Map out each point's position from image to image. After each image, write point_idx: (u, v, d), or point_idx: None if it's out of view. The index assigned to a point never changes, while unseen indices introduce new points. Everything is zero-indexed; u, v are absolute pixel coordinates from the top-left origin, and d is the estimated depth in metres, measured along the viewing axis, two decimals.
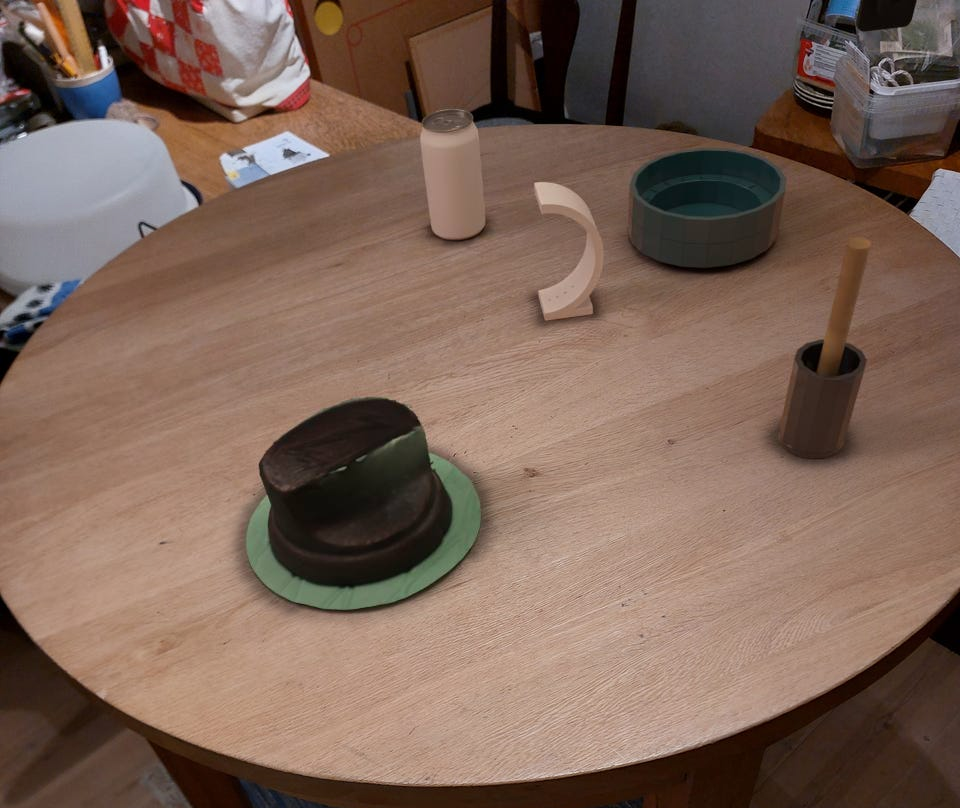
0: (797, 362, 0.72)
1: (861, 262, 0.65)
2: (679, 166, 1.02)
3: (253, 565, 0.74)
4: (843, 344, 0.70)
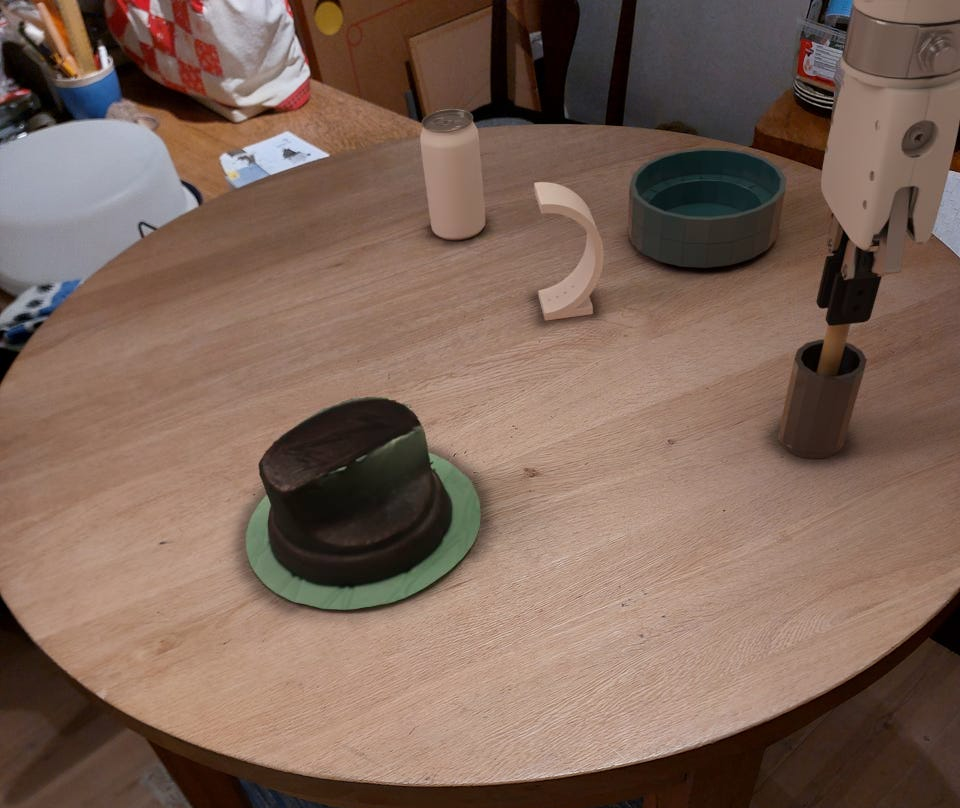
0: (797, 362, 0.72)
1: None
2: (679, 166, 1.02)
3: (252, 565, 0.74)
4: (843, 344, 0.70)
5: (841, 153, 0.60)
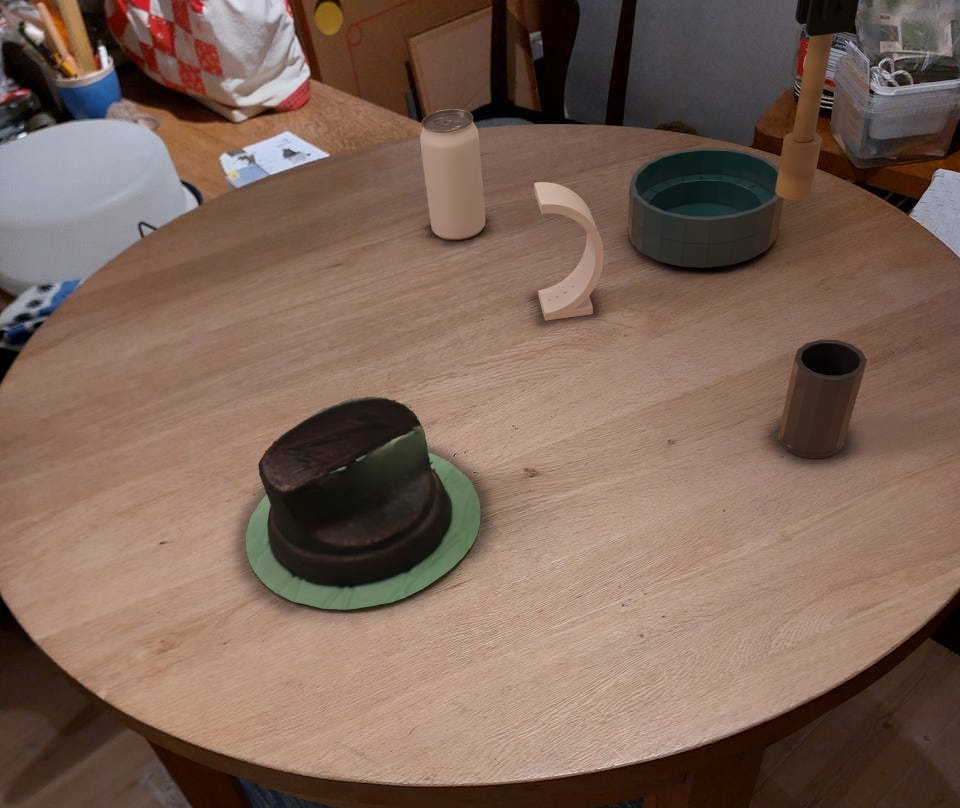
0: (797, 362, 0.72)
1: None
2: (679, 166, 1.02)
3: (252, 565, 0.74)
4: (825, 66, 0.65)
5: None
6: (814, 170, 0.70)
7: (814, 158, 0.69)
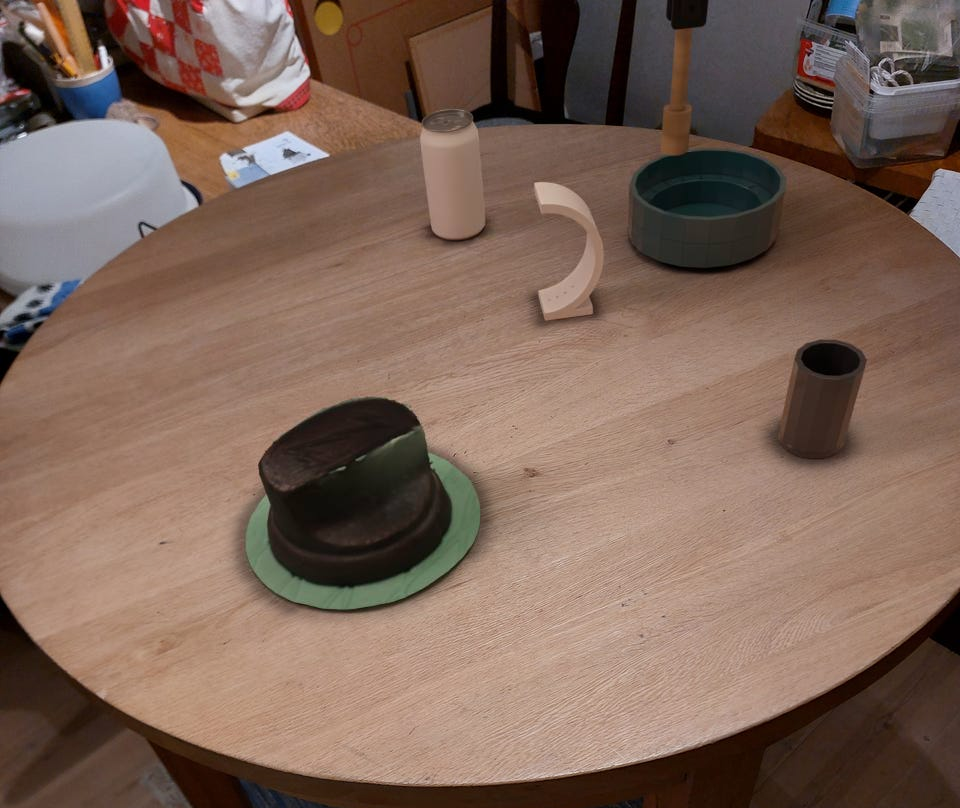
0: (797, 362, 0.72)
1: None
2: (679, 166, 1.02)
3: (252, 565, 0.74)
4: (688, 52, 0.86)
5: None
6: (687, 133, 0.91)
7: (686, 123, 0.90)
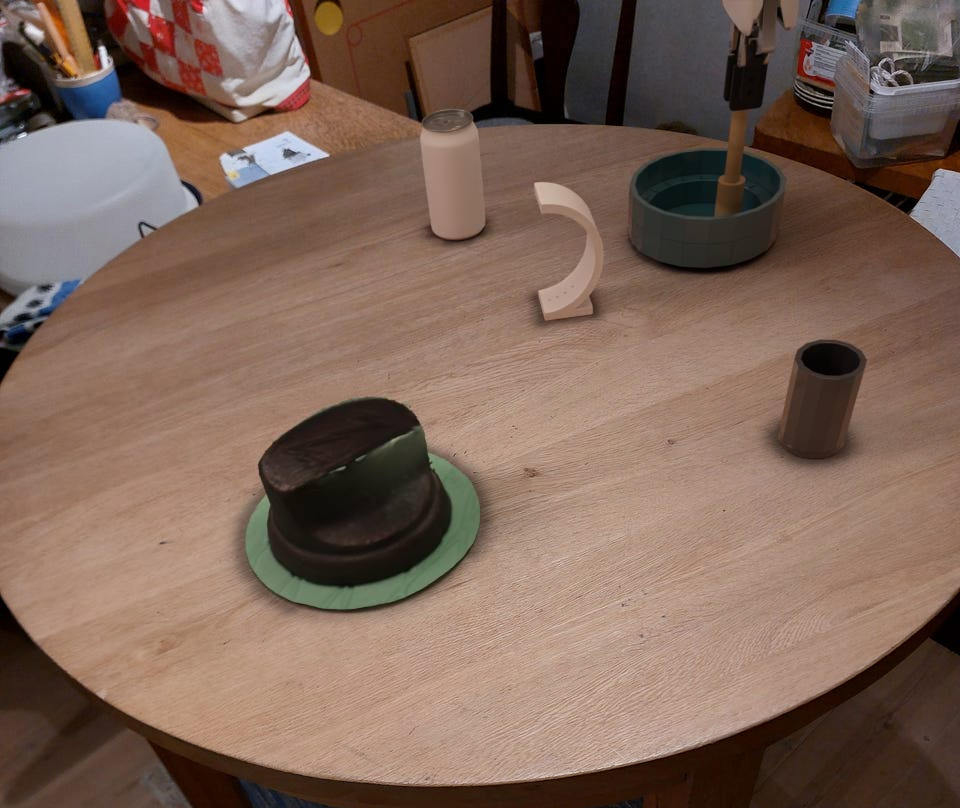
0: (797, 362, 0.72)
1: None
2: (679, 166, 1.02)
3: (252, 565, 0.74)
4: (744, 130, 0.92)
5: None
6: (740, 202, 0.97)
7: (740, 193, 0.96)
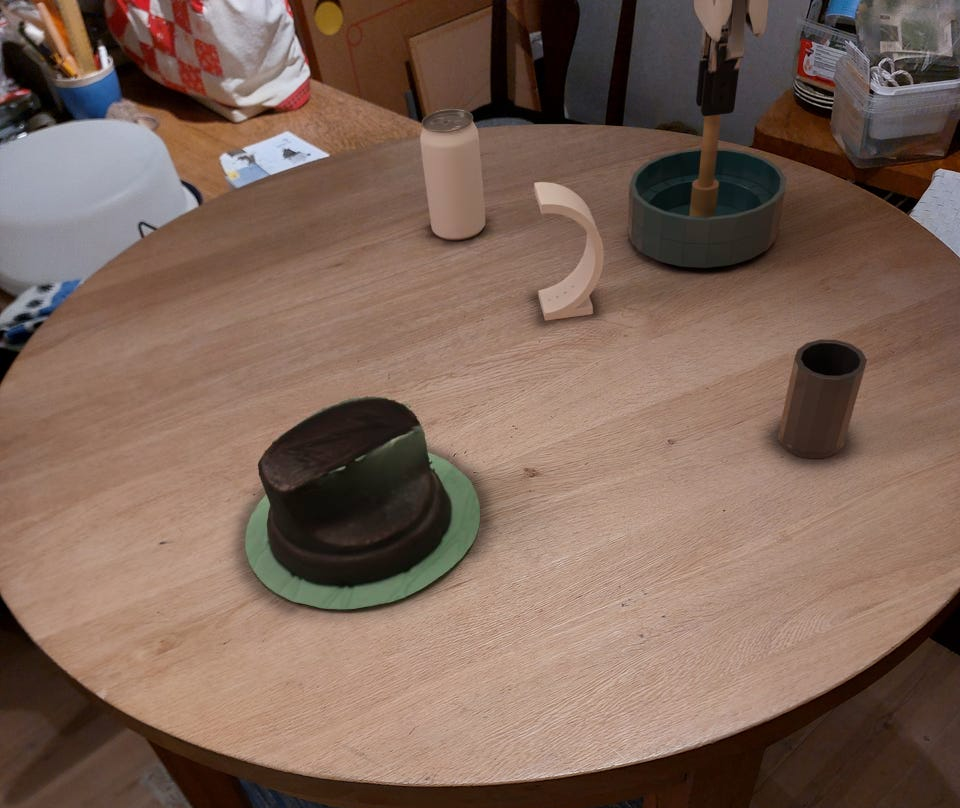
0: (797, 362, 0.72)
1: None
2: (679, 166, 1.02)
3: (252, 565, 0.74)
4: (716, 135, 0.92)
5: None
6: (714, 206, 0.97)
7: (714, 197, 0.96)
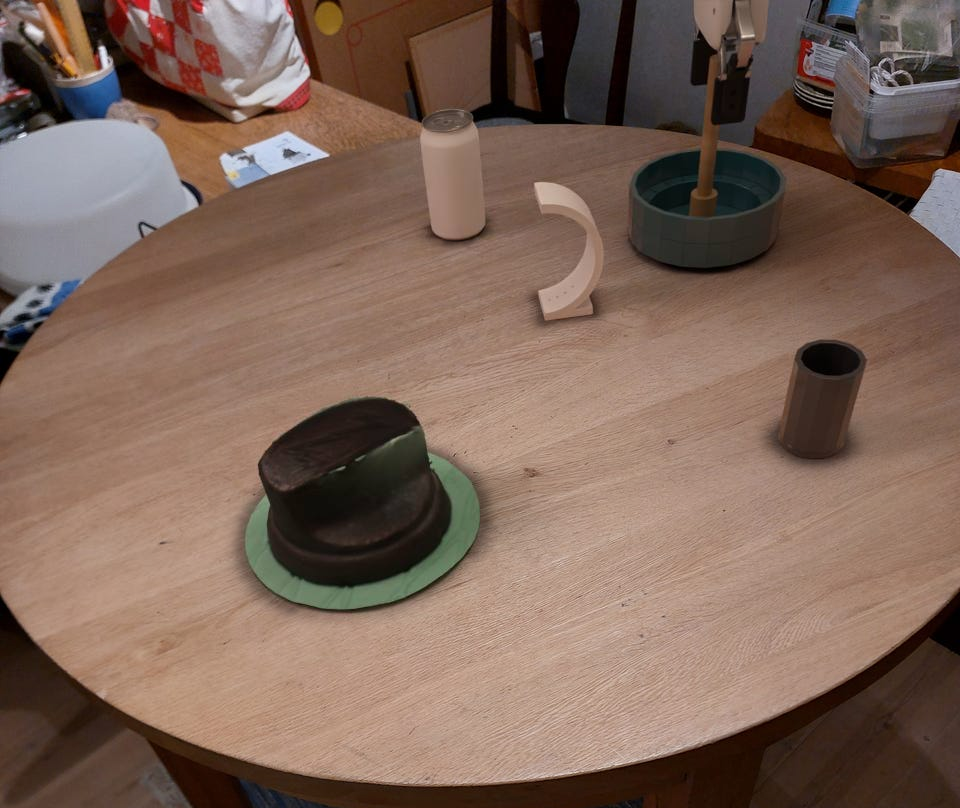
0: (797, 362, 0.72)
1: None
2: (679, 166, 1.02)
3: (252, 565, 0.74)
4: (715, 145, 0.93)
5: None
6: (713, 215, 0.98)
7: (712, 207, 0.97)
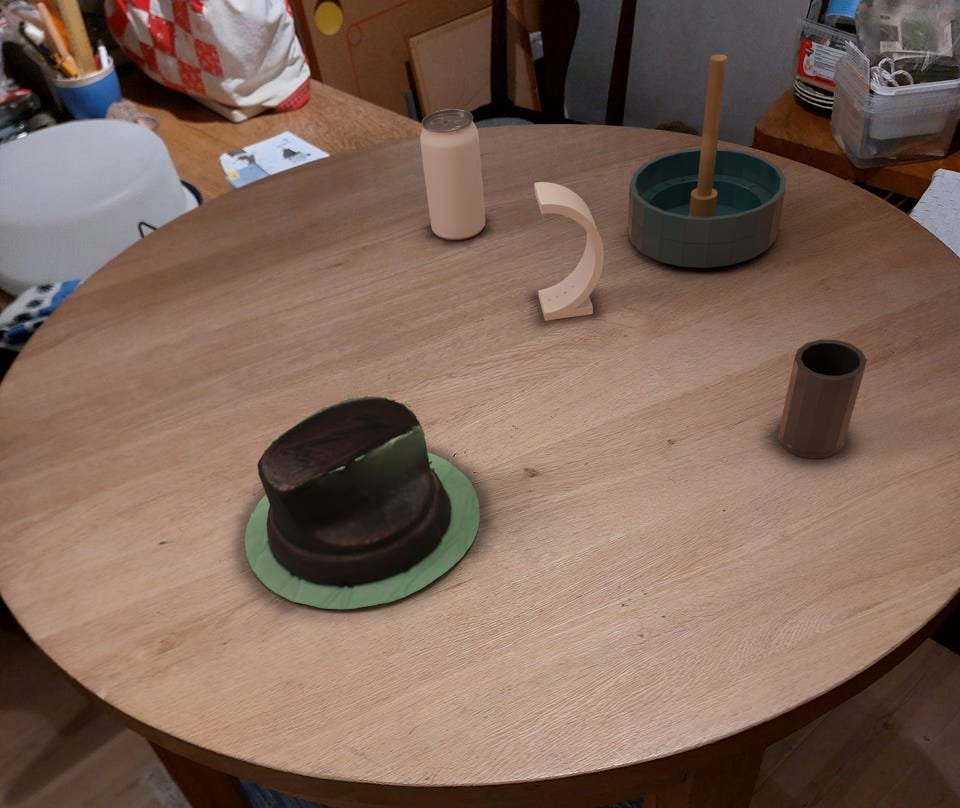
0: (797, 362, 0.72)
1: (720, 72, 0.87)
2: (679, 166, 1.02)
3: (252, 565, 0.74)
4: (715, 145, 0.93)
5: None
6: (713, 215, 0.98)
7: (712, 207, 0.97)
